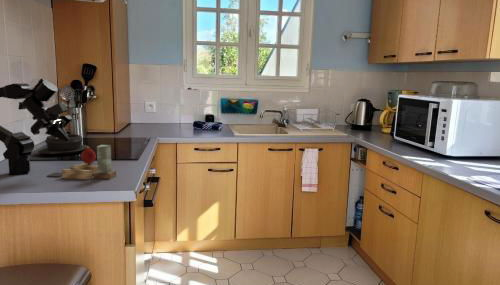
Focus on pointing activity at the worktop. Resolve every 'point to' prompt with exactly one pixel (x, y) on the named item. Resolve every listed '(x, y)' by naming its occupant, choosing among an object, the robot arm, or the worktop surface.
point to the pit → (55, 175)
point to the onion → (88, 156)
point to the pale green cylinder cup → (104, 163)
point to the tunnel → (79, 171)
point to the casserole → (63, 145)
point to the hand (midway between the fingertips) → (68, 140)
